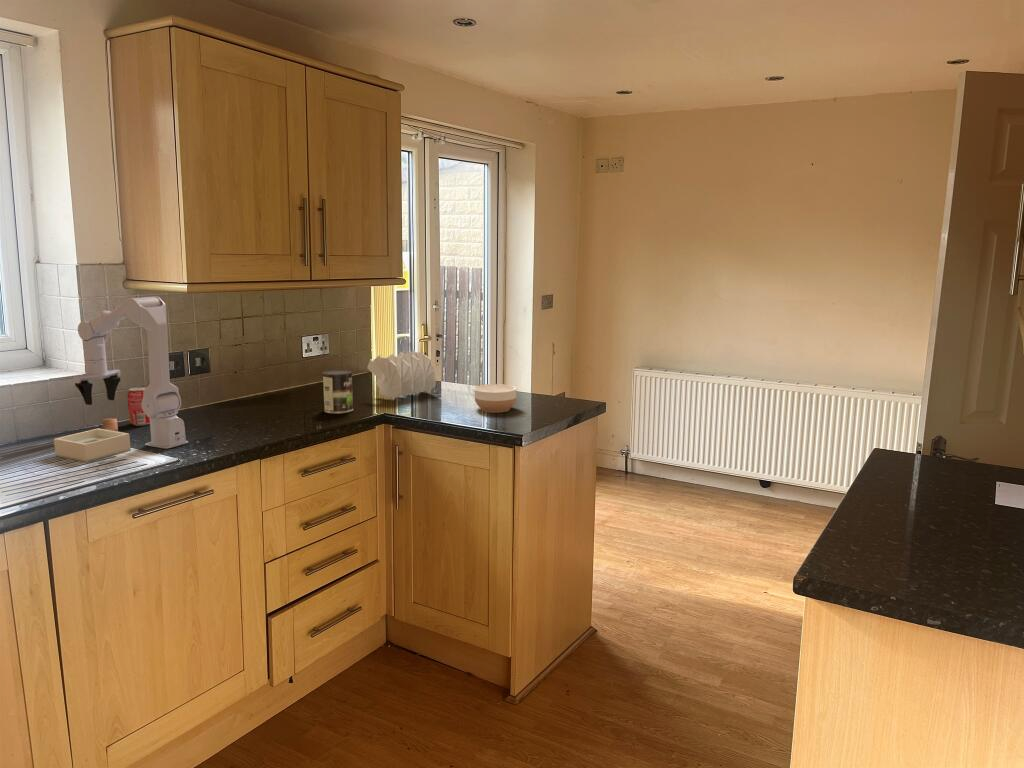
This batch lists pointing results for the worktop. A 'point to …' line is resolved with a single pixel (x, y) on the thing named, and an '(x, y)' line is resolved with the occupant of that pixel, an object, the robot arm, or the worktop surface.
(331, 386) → the coffee can
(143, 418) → the soda can
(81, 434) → the bore box
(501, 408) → the bowl
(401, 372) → the white pleated paper lampshade
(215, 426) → the worktop surface
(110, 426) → the peg
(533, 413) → the worktop surface
